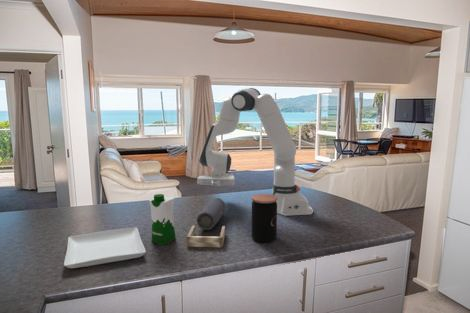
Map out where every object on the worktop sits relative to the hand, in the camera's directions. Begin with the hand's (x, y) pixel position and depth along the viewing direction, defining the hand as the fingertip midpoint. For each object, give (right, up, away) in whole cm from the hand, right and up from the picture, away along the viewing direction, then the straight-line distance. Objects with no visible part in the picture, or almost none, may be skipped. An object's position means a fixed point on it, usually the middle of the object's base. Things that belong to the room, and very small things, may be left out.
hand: (214, 184), depth 168 cm
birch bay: (-1, -21, -32) cm, 38 cm away
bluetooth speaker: (0, -18, -13) cm, 22 cm away
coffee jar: (+23, -21, -30) cm, 43 cm away
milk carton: (-19, -21, -32) cm, 43 cm away
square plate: (-40, -23, -42) cm, 62 cm away
